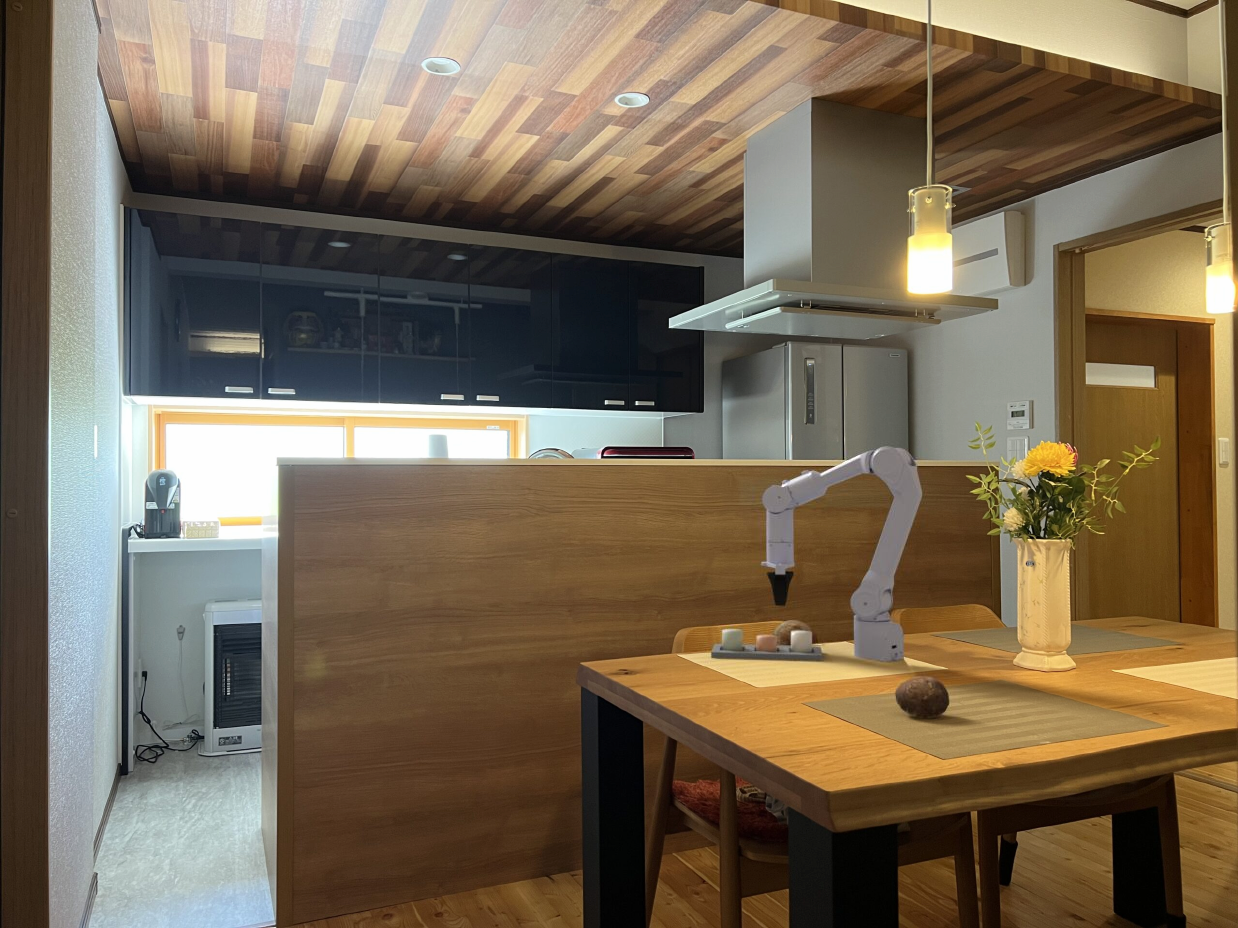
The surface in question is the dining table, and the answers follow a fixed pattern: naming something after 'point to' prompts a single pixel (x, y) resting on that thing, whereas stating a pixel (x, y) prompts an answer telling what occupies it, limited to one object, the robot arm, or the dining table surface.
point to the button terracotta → (766, 643)
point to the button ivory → (801, 641)
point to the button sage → (732, 639)
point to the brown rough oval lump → (922, 697)
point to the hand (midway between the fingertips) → (780, 605)
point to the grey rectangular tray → (767, 653)
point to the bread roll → (792, 625)
